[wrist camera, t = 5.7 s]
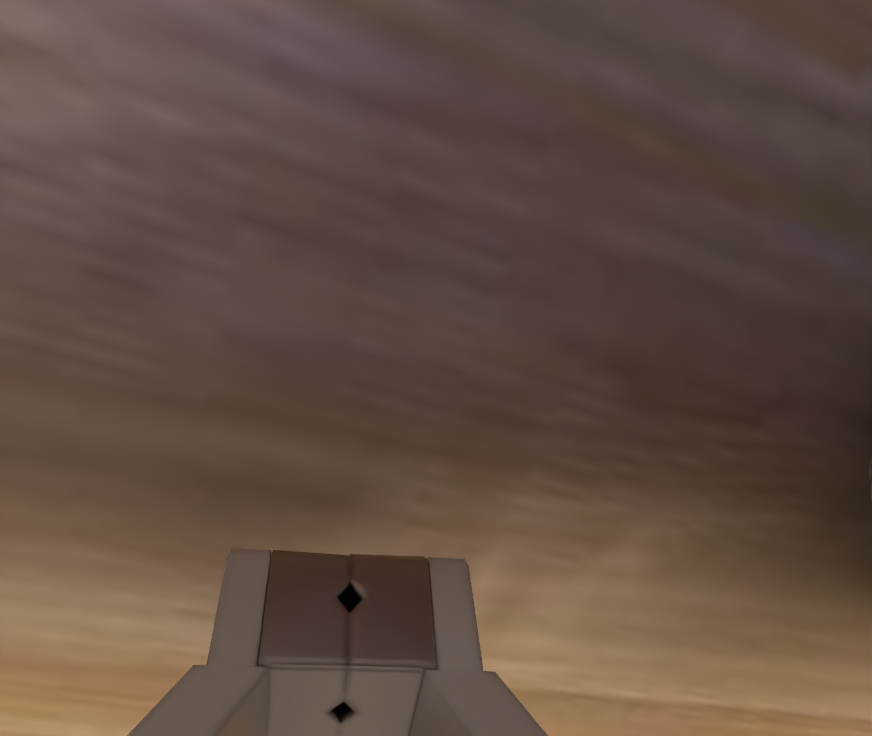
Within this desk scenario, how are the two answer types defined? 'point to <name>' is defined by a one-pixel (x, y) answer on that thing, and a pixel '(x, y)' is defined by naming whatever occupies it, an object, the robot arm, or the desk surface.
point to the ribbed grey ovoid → (870, 477)
